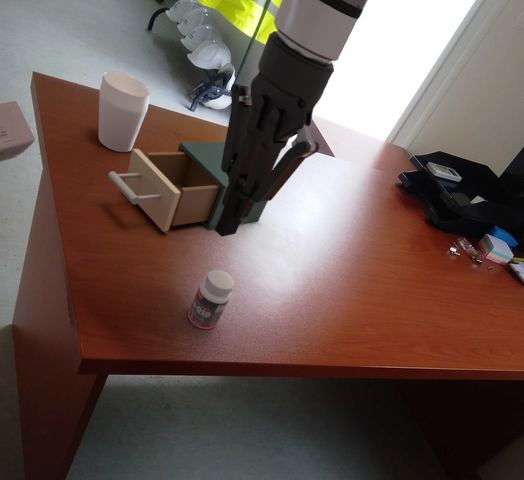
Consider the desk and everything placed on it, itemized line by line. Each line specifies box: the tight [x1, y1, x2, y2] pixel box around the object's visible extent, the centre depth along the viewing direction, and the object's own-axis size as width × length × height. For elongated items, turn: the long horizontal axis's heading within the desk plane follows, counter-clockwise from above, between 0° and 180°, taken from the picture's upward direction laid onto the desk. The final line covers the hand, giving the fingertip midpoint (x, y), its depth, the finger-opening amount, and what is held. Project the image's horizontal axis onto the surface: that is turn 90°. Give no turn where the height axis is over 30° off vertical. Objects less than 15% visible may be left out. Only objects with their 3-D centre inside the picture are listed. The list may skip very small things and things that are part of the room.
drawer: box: [107, 148, 221, 232], centre depth 81 cm, size 19×12×8 cm, turn 136°
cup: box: [98, 70, 151, 153], centre depth 90 cm, size 9×9×12 cm
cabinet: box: [176, 141, 269, 231], centre depth 91 cm, size 15×14×10 cm
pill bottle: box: [187, 269, 235, 330], centre depth 68 cm, size 5×5×8 cm
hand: (225, 231), depth 62 cm, fingers closed
